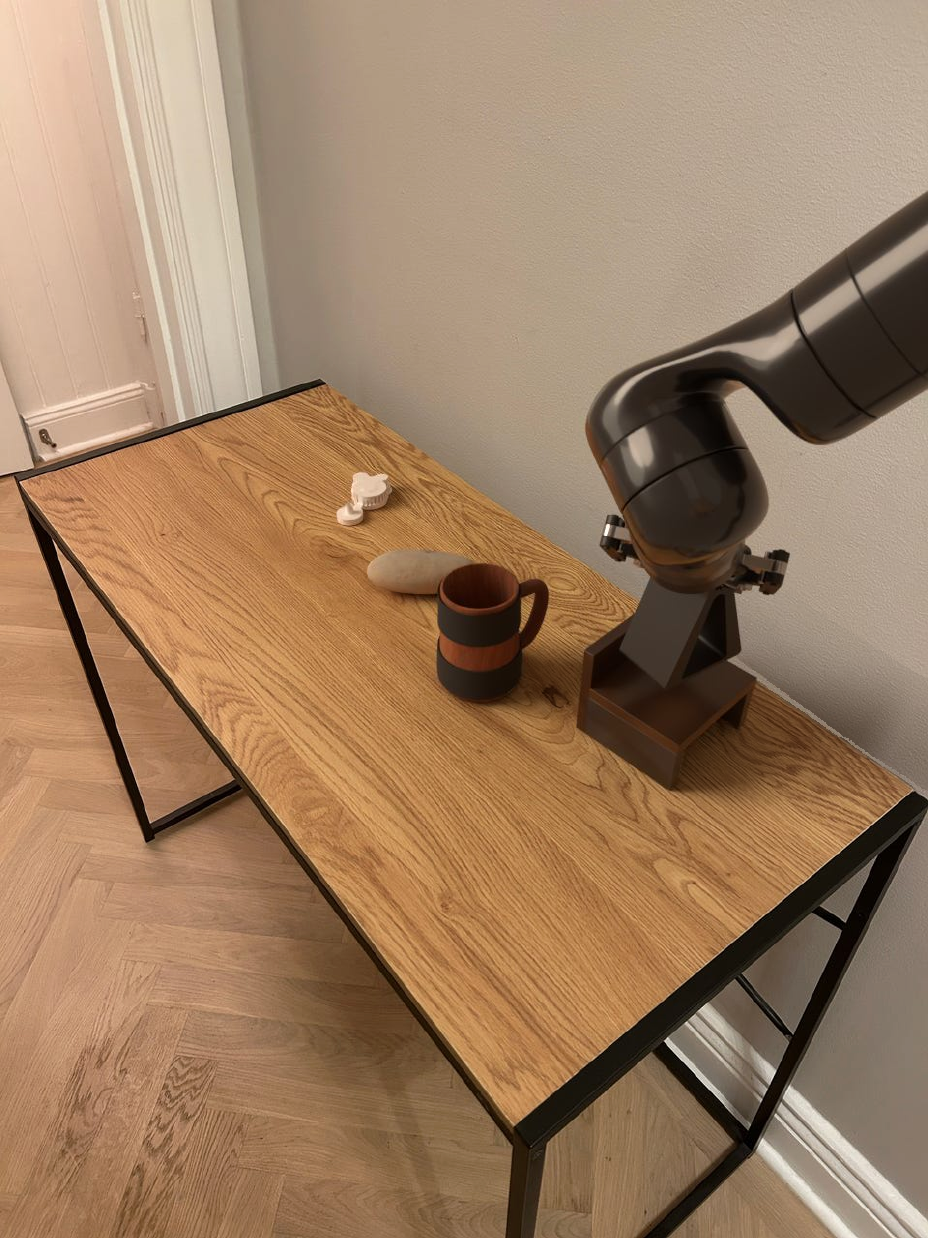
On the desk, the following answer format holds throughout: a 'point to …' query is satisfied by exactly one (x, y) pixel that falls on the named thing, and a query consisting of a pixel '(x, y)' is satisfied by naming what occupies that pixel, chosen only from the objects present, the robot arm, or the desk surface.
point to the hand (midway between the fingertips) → (696, 571)
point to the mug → (485, 630)
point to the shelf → (654, 707)
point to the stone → (413, 570)
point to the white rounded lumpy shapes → (364, 497)
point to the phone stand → (682, 633)
